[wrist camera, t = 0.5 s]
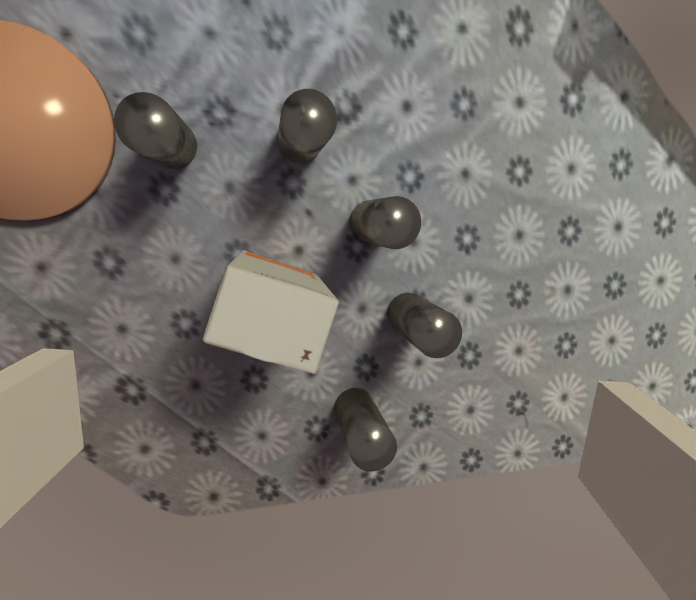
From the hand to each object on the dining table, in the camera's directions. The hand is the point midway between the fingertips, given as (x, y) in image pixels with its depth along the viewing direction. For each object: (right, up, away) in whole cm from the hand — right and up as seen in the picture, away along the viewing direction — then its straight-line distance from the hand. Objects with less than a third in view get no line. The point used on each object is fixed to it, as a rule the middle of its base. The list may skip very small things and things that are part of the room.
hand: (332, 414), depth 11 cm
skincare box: (-5, +4, +23) cm, 24 cm away
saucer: (-21, +14, +18) cm, 31 cm away
